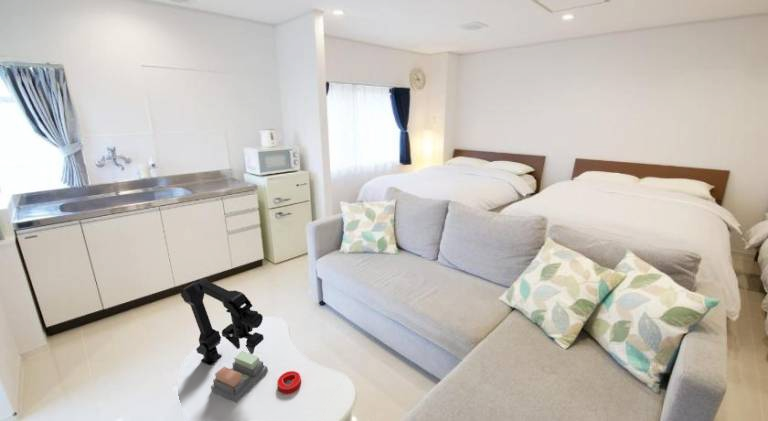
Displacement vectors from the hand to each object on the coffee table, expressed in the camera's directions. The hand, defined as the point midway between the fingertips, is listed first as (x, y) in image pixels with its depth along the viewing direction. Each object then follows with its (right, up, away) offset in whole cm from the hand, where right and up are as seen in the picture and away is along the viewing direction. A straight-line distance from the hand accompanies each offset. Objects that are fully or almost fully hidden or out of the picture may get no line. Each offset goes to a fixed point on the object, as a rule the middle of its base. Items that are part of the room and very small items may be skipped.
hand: (245, 351), depth 146 cm
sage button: (0, -7, +2) cm, 8 cm away
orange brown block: (-4, -10, -6) cm, 12 cm away
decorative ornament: (+20, -14, -3) cm, 25 cm away
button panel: (-2, -13, 0) cm, 13 cm away
